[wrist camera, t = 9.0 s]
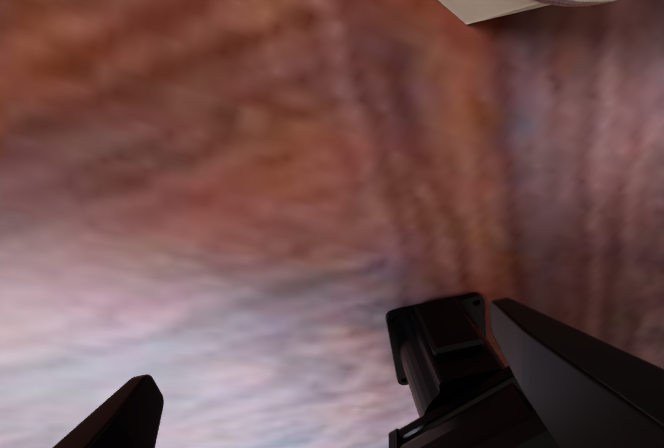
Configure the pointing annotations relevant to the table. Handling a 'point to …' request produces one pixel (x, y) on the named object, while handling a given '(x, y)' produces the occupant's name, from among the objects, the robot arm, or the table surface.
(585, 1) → the cooker lid
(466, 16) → the cooker pot
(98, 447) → the robot arm
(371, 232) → the table surface
